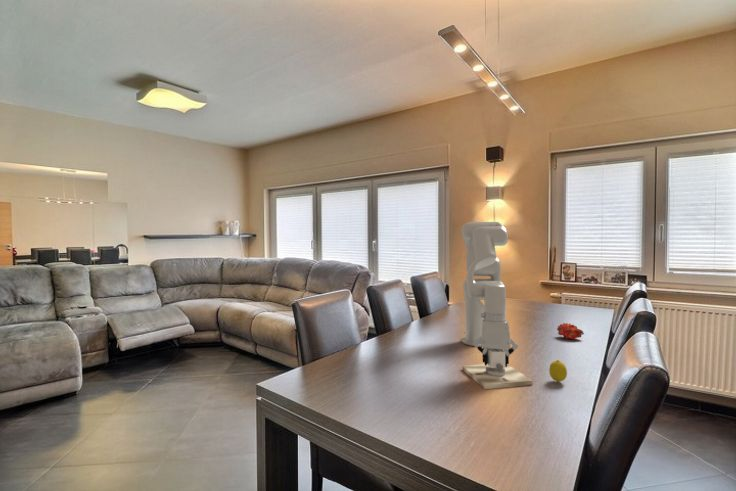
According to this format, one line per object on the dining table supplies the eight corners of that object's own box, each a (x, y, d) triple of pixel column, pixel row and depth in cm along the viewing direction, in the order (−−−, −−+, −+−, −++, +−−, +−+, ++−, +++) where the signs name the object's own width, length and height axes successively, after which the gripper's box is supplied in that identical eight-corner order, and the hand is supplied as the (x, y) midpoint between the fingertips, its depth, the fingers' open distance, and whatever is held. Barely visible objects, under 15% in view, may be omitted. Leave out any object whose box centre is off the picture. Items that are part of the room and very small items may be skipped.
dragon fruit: (555, 339, 181) (581, 346, 174) (554, 332, 175) (581, 340, 168) (559, 324, 184) (585, 331, 177) (558, 317, 178) (585, 324, 171)
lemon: (560, 387, 121) (560, 364, 121) (545, 381, 126) (545, 359, 126) (570, 383, 124) (570, 361, 123) (555, 378, 128) (555, 356, 128)
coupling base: (462, 369, 138) (462, 359, 138) (504, 366, 141) (504, 356, 141) (484, 389, 120) (484, 377, 120) (532, 384, 123) (532, 373, 123)
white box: (485, 363, 133) (485, 347, 133) (499, 362, 133) (499, 346, 133) (493, 370, 126) (493, 353, 125) (507, 369, 126) (507, 352, 126)
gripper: (471, 318, 128) (471, 366, 129) (522, 320, 124) (522, 370, 125) (470, 314, 136) (470, 359, 136) (518, 315, 131) (518, 363, 132)
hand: (495, 364), depth 130 cm, fingers closed on white box, 6 cm apart
